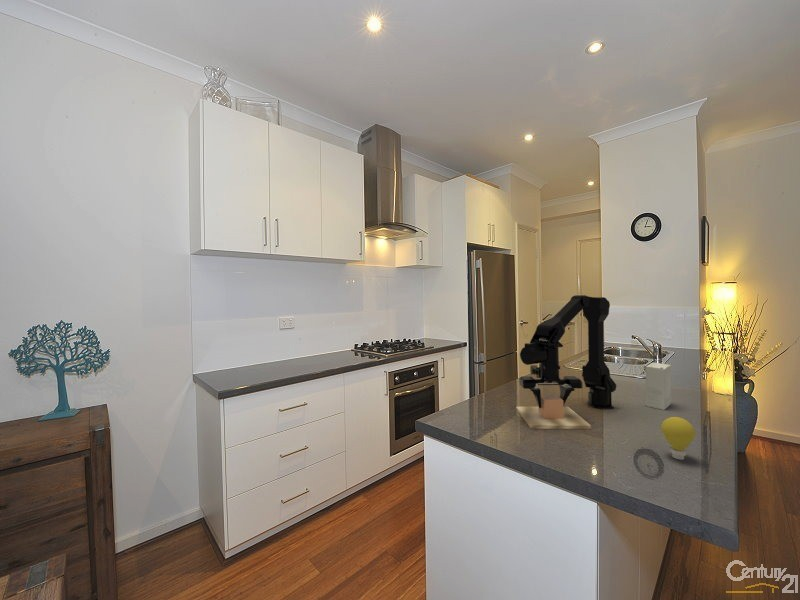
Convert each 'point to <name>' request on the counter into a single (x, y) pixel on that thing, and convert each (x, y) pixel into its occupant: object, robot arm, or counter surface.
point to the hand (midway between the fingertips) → (550, 407)
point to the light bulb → (678, 435)
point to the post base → (552, 419)
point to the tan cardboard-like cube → (551, 407)
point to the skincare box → (658, 385)
